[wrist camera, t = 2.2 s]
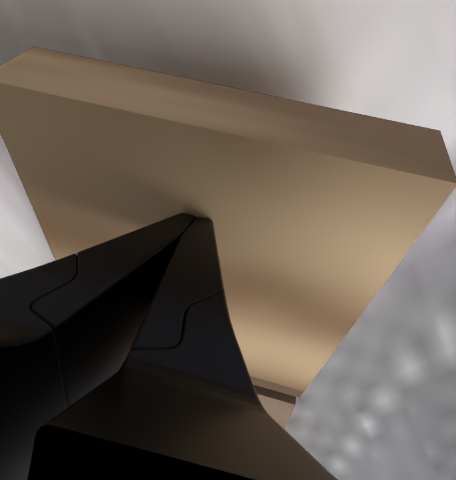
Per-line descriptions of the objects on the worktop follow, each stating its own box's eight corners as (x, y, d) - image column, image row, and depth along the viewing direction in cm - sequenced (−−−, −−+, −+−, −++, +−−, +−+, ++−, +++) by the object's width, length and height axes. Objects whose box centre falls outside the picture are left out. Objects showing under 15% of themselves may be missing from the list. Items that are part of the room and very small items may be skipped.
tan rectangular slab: (303, 355, 17) (299, 397, 15) (108, 302, 18) (88, 337, 16) (440, 130, 8) (458, 183, 7) (34, 46, 9) (-24, 77, 7)
